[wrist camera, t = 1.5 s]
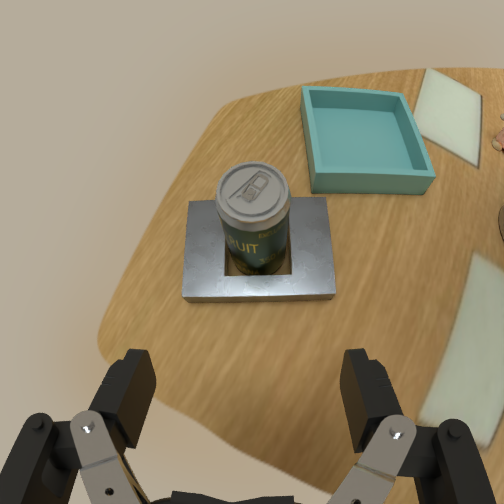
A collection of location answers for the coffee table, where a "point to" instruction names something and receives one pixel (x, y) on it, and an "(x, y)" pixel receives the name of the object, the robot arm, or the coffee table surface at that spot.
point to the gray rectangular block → (266, 286)
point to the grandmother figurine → (499, 138)
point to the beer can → (254, 216)
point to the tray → (363, 142)
